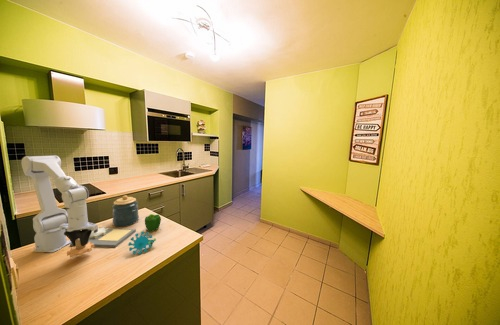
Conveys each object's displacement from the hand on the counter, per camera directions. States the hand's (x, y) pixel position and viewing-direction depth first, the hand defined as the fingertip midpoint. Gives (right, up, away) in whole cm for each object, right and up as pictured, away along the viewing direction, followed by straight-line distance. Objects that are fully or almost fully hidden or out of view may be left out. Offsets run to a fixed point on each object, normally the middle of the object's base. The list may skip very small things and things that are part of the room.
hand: (80, 244), depth 70 cm
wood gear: (0, -3, 0) cm, 3 cm away
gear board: (-2, -4, +15) cm, 15 cm away
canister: (-4, -2, +31) cm, 32 cm away
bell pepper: (+17, -4, +25) cm, 30 cm away
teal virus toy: (+23, -6, +7) cm, 25 cm away
